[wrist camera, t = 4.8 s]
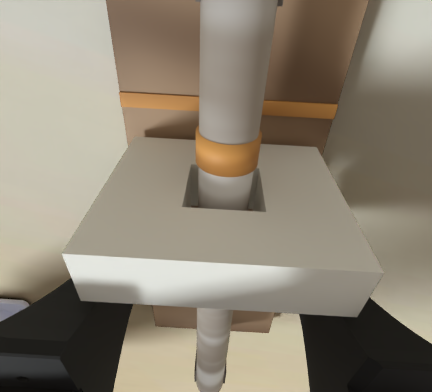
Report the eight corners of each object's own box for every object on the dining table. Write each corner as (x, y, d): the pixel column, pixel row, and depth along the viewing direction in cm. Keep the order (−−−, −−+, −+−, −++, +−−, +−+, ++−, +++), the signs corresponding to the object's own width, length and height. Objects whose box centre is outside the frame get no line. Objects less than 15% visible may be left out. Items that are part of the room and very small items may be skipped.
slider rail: (266, 318, 24) (276, 404, 19) (158, 312, 24) (140, 396, 19) (378, -82, 9) (537, -152, 5) (104, -97, 9) (-30, -183, 5)
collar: (306, 184, 14) (356, 317, 8) (139, 175, 14) (80, 300, 8) (316, 147, 13) (384, 272, 7) (134, 136, 13) (61, 253, 7)
